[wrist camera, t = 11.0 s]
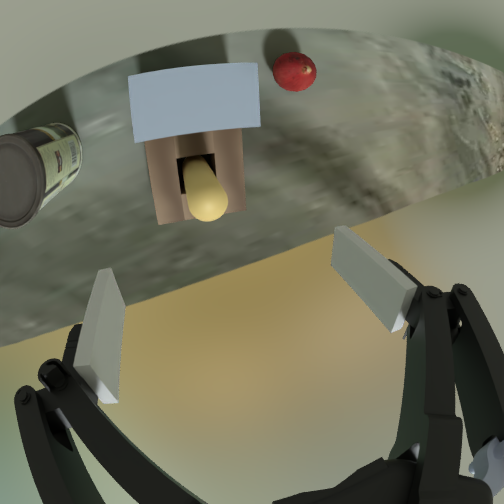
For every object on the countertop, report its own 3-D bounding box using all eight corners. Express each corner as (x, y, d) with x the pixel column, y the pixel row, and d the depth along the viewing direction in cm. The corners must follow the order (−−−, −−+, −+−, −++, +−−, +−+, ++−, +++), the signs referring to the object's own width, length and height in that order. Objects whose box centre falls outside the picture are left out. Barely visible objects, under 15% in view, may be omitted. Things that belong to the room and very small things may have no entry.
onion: (260, 61, 32) (280, 51, 25) (295, 53, 32) (321, 44, 26) (272, 96, 35) (295, 94, 29) (306, 87, 36) (334, 85, 29)
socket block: (159, 211, 39) (158, 224, 35) (147, 132, 33) (143, 135, 29) (238, 198, 42) (246, 210, 38) (232, 120, 36) (240, 122, 32)
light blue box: (147, 132, 33) (134, 143, 22) (142, 87, 30) (127, 76, 19) (232, 120, 36) (260, 126, 25) (230, 76, 32) (257, 62, 21)
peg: (180, 156, 36) (185, 186, 23) (205, 152, 37) (226, 180, 24) (183, 180, 38) (191, 224, 25) (208, 176, 39) (229, 217, 26)
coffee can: (16, 153, 27) (-37, 179, 16) (61, 108, 27) (12, 113, 15) (49, 203, 33) (8, 246, 21) (95, 162, 33) (60, 191, 21)
